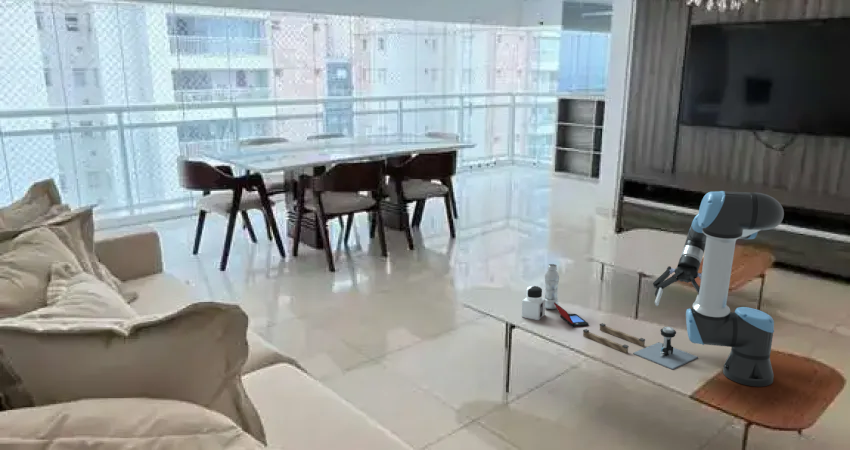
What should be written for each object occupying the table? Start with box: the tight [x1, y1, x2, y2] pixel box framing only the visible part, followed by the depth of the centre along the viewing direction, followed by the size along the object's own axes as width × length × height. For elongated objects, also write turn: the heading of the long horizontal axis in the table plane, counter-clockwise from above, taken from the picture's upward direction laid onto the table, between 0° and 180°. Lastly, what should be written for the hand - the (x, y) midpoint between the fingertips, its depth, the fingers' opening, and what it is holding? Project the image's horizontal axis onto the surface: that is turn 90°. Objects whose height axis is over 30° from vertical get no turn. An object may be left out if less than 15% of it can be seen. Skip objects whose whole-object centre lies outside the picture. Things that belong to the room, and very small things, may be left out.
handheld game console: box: [554, 302, 590, 328], centre depth 255 cm, size 12×11×7 cm
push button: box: [659, 326, 677, 356], centre depth 222 cm, size 7×5×10 cm
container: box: [521, 285, 546, 321], centre depth 261 cm, size 8×8×13 cm
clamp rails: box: [582, 322, 646, 354], centre depth 237 cm, size 20×12×3 cm, turn 36°
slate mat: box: [632, 341, 699, 370], centre depth 223 cm, size 16×16×1 cm
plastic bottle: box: [544, 263, 560, 310], centre depth 269 cm, size 6×7×20 cm
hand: (674, 308), depth 226 cm, fingers open, 13 cm apart
